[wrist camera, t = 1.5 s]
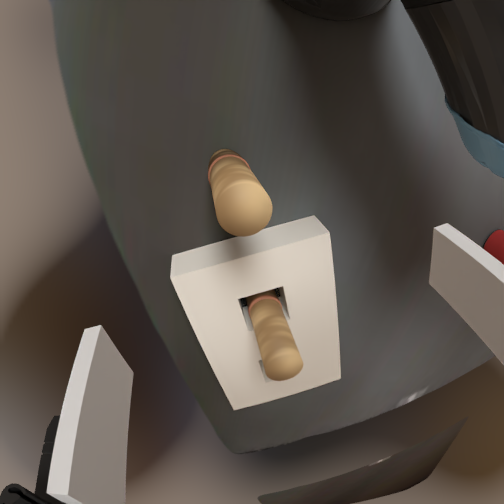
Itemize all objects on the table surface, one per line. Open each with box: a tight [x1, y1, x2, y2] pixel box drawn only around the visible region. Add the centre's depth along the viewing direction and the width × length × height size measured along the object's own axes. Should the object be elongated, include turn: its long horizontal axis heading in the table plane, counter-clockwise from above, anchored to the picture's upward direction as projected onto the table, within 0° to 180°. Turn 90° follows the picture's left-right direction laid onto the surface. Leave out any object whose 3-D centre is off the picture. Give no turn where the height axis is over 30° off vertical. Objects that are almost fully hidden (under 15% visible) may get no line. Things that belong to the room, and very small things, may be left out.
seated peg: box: [246, 289, 303, 381], centre depth 32 cm, size 4×4×13 cm
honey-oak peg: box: [208, 149, 272, 237], centre depth 25 cm, size 4×4×13 cm
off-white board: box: [170, 215, 341, 410], centre depth 39 cm, size 16×24×4 cm, turn 13°
